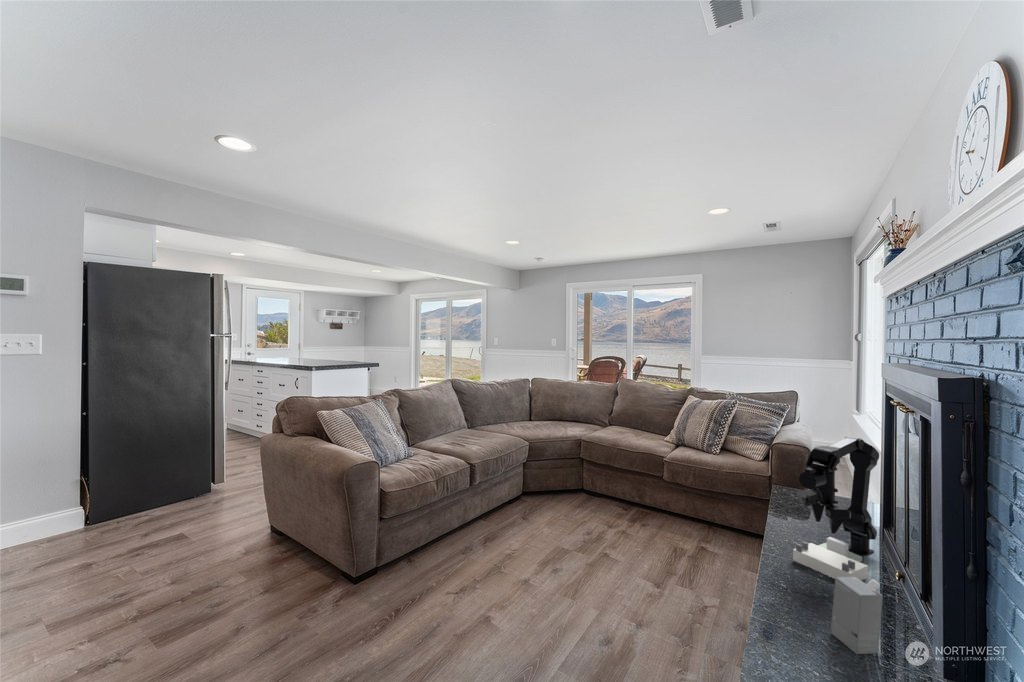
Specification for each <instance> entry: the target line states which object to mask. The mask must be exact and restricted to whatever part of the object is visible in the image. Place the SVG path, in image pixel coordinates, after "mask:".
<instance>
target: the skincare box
mask: <svg viewBox="0 0 1024 682" xmlns="http://www.w3.org/2000/svg"><path fill="white" fill-rule="evenodd" d="M883 596H884V595H883V594H882V593H880V592H879V591H877V589H876V590H874V589H873V588H872V587H871V586H870V585H868V583H865V582H864V581H863V580H859V579H858V578H856V577H835V579H834V588H833V601H832V602H833V603H832V612H831V613H832V614H831V623H830V624H831V625H830V634H831V635H833V636H834V637H835V638H836V639H838V640H839V641H840V642H841V643H843V644H844V645H845V647H847V648H848V649H850V650H851V651H852V652H854V654H856V655H866V654H867V655H868V654H869V655H870V654H872V655H873V654H874V655H875V654H879V647H880V634H881V633H880V631H881V621H882V610H883V609H882V608H883V600H884V599H883Z"/></svg>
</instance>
